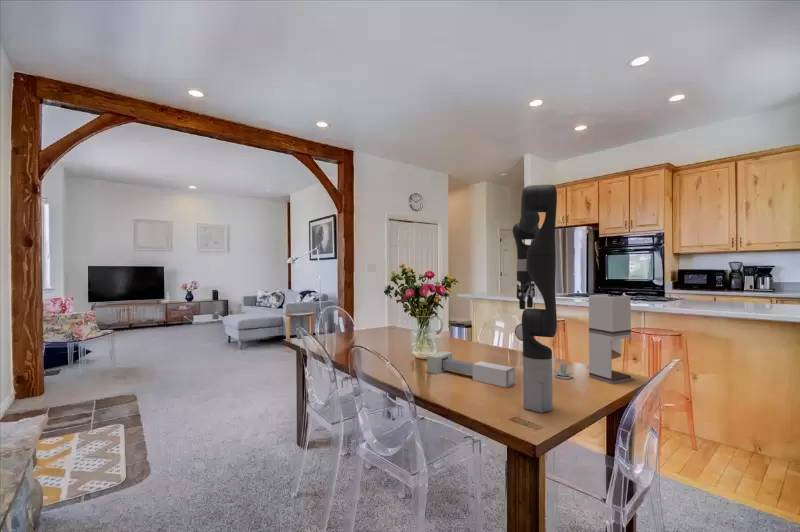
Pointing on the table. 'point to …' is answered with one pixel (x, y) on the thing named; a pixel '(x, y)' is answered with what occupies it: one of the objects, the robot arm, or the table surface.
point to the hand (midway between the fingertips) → (526, 308)
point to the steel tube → (457, 366)
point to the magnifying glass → (519, 332)
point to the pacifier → (563, 372)
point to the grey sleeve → (493, 374)
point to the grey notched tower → (607, 335)
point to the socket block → (437, 362)
